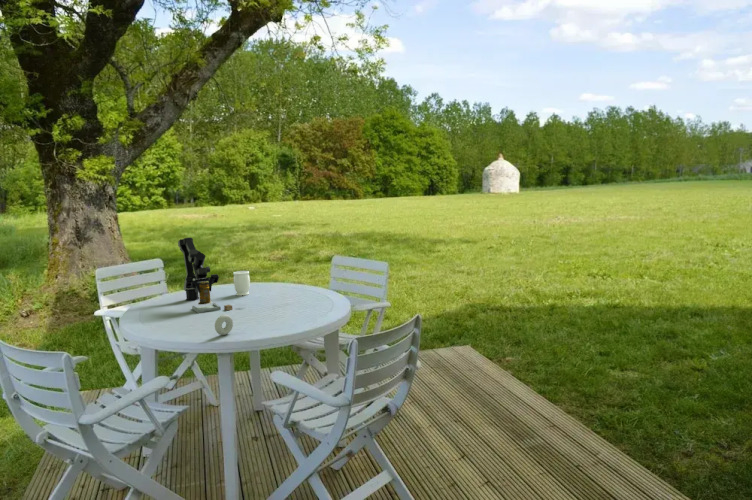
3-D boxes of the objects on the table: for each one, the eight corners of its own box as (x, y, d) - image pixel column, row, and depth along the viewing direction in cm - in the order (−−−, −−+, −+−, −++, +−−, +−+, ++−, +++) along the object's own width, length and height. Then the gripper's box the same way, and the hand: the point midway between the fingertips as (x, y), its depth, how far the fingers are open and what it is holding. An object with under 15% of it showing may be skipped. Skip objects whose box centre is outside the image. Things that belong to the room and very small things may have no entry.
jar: (248, 296, 358) (247, 273, 356) (232, 296, 358) (231, 273, 356) (252, 292, 368) (251, 270, 367) (237, 293, 369) (235, 270, 367)
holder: (192, 309, 327) (192, 306, 327) (214, 305, 333) (214, 302, 333) (197, 313, 316) (197, 310, 316) (220, 309, 322) (220, 306, 322)
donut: (218, 338, 265) (216, 317, 263) (213, 336, 267) (212, 316, 265) (235, 332, 272) (233, 313, 271) (230, 331, 275) (229, 312, 273)
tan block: (224, 309, 323) (224, 305, 322) (229, 308, 325) (228, 304, 324) (227, 310, 320) (227, 306, 319) (232, 309, 322) (232, 305, 321)
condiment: (211, 300, 330) (210, 280, 328) (211, 303, 321) (209, 283, 320) (198, 301, 328) (197, 281, 326) (198, 305, 320) (196, 284, 318)
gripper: (184, 264, 320) (190, 286, 312) (216, 260, 330) (223, 281, 322) (182, 275, 328) (188, 297, 320) (214, 271, 337) (220, 292, 330)
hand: (205, 291), depth 323 cm, fingers closed on condiment, 6 cm apart
